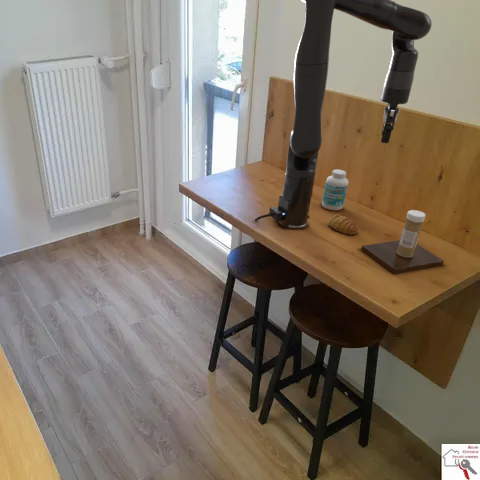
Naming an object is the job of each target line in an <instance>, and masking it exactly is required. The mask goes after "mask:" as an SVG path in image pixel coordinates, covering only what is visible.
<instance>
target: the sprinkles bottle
mask: <svg viewBox="0 0 480 480" xmlns="http://www.w3.org/2000/svg"><path fill="white" fill-rule="evenodd" d="M425 219H426V213H425V212H424V211H420V210H416V209H410V210H408V211H407V213H406V217H405V223H404V225H403V227H402V228H403V229H402V232H401V236H400V238H399V240H400V242H399V247H398V250H397V254H398V255H399V256H401V257H404V258H411V257H413V255H414V250H415V247H416V245H417V244H418V241H419V238H420V237H419V236H420V235H421V234H420V233H421V230H422V226H423V223H424V222H425Z"/></svg>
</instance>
